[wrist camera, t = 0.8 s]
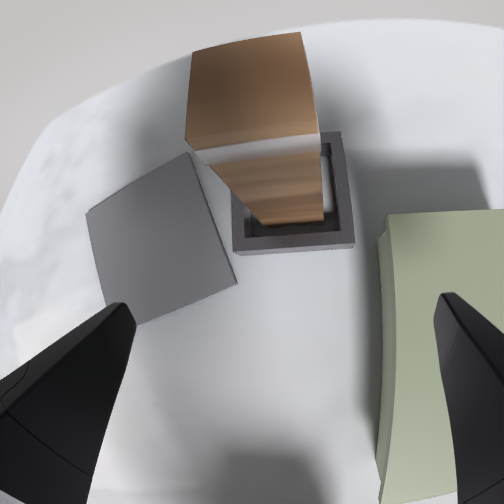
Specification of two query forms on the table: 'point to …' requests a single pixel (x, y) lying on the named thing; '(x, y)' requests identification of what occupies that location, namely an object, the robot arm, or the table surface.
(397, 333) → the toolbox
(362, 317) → the table surface
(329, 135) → the dark grey square frame
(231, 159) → the banded wooden block
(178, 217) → the mat
